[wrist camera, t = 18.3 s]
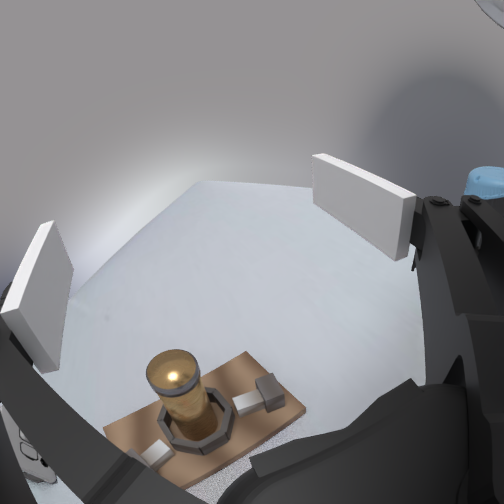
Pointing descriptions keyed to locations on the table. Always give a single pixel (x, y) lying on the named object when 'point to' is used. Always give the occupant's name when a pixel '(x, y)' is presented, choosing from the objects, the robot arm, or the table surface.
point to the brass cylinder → (182, 393)
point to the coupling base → (228, 429)
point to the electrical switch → (26, 453)
